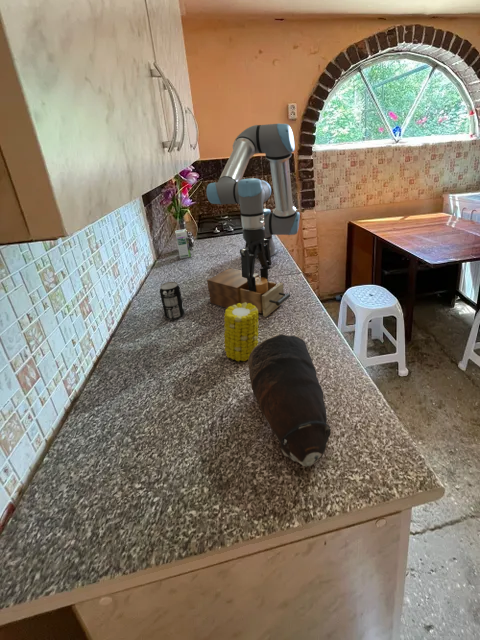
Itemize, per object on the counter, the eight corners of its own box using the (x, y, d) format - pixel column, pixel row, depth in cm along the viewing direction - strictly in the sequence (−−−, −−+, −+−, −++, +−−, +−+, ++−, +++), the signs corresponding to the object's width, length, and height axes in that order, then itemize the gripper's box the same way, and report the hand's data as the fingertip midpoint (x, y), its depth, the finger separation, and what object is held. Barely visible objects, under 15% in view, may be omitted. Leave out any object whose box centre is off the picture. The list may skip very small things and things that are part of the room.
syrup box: (179, 259, 165) (175, 232, 160) (179, 255, 170) (174, 230, 165) (191, 257, 166) (186, 231, 161) (190, 253, 172) (185, 228, 167)
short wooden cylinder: (257, 284, 115) (256, 275, 113) (271, 288, 111) (271, 279, 110) (246, 292, 110) (245, 282, 108) (260, 295, 106) (260, 286, 105)
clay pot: (276, 451, 48) (248, 335, 68) (266, 499, 55) (243, 382, 76) (360, 432, 52) (310, 329, 73) (341, 479, 60) (300, 373, 80)
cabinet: (260, 297, 120) (258, 274, 117) (239, 312, 110) (237, 287, 107) (232, 289, 128) (229, 267, 124) (210, 302, 118) (206, 279, 114)
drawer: (294, 304, 111) (293, 285, 109) (276, 320, 103) (275, 299, 100) (255, 294, 121) (253, 276, 118) (235, 307, 112) (233, 288, 109)
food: (223, 352, 92) (257, 346, 95) (228, 370, 81) (266, 362, 84) (218, 302, 90) (252, 297, 93) (222, 314, 79) (261, 307, 82)
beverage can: (176, 309, 114) (170, 279, 110) (188, 313, 111) (183, 283, 107) (161, 317, 109) (154, 287, 105) (174, 322, 106) (167, 291, 102)
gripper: (243, 236, 93) (250, 304, 101) (279, 221, 108) (282, 281, 116) (224, 233, 97) (233, 298, 105) (261, 219, 112) (266, 277, 120)
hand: (259, 289), depth 110 cm, fingers closed on short wooden cylinder, 6 cm apart
